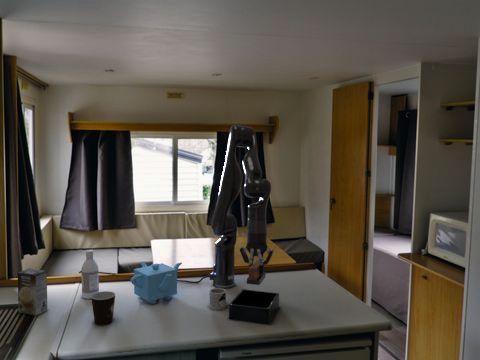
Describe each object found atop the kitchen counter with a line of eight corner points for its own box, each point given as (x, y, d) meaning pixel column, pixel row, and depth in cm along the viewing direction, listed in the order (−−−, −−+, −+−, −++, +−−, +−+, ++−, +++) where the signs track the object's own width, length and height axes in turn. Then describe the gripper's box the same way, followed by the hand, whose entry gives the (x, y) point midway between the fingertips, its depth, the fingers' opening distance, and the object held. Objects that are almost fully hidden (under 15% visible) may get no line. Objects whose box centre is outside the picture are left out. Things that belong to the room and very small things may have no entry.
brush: (246, 284, 164) (246, 267, 163) (254, 275, 175) (254, 259, 174) (258, 285, 162) (259, 269, 162) (266, 276, 174) (266, 260, 173)
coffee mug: (102, 328, 154) (101, 301, 154) (86, 322, 159) (85, 296, 158) (126, 317, 164) (126, 291, 163) (111, 312, 169) (110, 287, 168)
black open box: (229, 319, 164) (229, 304, 163) (242, 302, 180) (242, 289, 180) (269, 324, 159) (269, 309, 158) (278, 307, 176) (279, 293, 175)
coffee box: (17, 312, 167) (16, 272, 166) (30, 306, 174) (29, 267, 172) (36, 316, 164) (34, 275, 163) (48, 309, 171) (47, 270, 169)
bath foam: (81, 294, 188) (80, 249, 186) (98, 292, 190) (97, 248, 188) (82, 300, 181) (81, 253, 179) (99, 297, 184) (98, 251, 182)
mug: (221, 310, 171) (222, 294, 171) (206, 308, 174) (206, 292, 173) (231, 302, 181) (231, 286, 180) (216, 299, 183) (216, 284, 182)
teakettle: (128, 305, 176) (127, 270, 175) (141, 289, 195) (140, 257, 193) (173, 306, 175) (173, 271, 174) (182, 290, 194) (182, 258, 192)
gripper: (276, 229, 168) (276, 272, 170) (242, 227, 172) (241, 269, 174) (272, 233, 161) (271, 278, 163) (236, 231, 165) (236, 275, 167)
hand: (256, 273), depth 168 cm, fingers closed on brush, 3 cm apart
